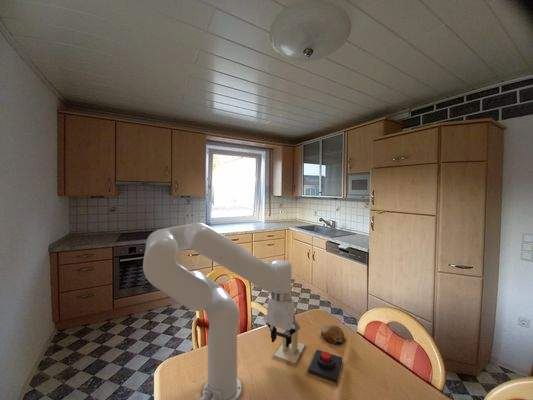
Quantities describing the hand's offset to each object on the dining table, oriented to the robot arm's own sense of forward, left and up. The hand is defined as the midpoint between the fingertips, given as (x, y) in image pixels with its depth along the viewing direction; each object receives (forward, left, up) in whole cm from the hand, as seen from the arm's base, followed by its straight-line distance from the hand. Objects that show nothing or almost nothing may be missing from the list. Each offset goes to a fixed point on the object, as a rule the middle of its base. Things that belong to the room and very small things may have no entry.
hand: (281, 342), depth 86 cm
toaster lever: (+5, 0, +1) cm, 5 cm away
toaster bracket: (+10, 0, -10) cm, 14 cm away
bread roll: (+27, -14, -10) cm, 32 cm away
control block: (+8, -15, -10) cm, 20 cm away
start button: (+8, -15, -6) cm, 18 cm away
